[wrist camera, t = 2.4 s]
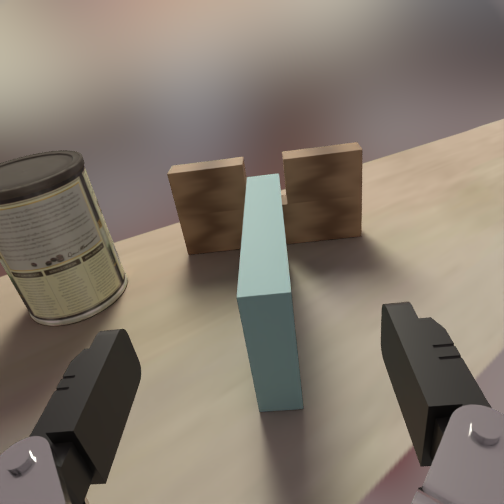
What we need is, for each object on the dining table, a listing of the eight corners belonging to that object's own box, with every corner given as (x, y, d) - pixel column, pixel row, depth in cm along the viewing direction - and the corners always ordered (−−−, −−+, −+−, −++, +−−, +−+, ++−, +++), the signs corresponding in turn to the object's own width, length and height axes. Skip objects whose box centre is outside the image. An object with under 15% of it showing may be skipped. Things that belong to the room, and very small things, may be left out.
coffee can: (9, 310, 41) (-65, 186, 34) (89, 259, 48) (41, 147, 41) (67, 340, 36) (-6, 199, 28) (147, 278, 43) (105, 152, 35)
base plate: (188, 254, 46) (167, 174, 41) (191, 243, 48) (171, 165, 43) (361, 236, 44) (362, 149, 39) (356, 225, 46) (357, 142, 41)
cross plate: (259, 411, 27) (236, 297, 21) (260, 265, 42) (246, 177, 37) (303, 408, 26) (291, 292, 21) (288, 262, 42) (278, 173, 36)
